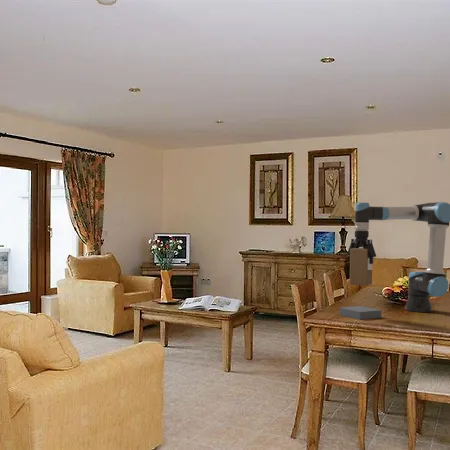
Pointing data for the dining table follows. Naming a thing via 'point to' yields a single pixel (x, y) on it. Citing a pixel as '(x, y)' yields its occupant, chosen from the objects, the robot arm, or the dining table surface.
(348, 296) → the dining table surface
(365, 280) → the wooden block
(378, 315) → the charcoal plinth
